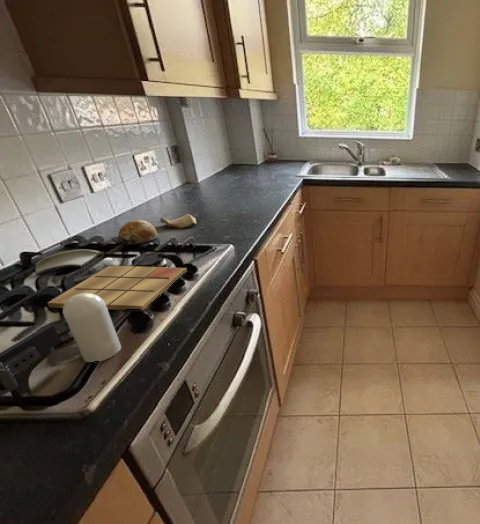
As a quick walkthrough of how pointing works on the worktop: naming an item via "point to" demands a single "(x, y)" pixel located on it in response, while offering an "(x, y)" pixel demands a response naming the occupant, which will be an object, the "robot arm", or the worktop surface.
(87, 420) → the worktop surface
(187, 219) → the pottery shard
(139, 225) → the bread roll
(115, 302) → the game board
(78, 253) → the ceramic fragment
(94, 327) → the white domed cylinder
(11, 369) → the robot arm
